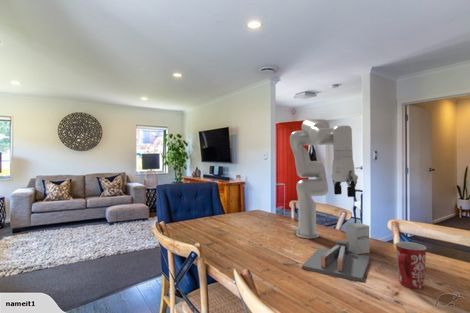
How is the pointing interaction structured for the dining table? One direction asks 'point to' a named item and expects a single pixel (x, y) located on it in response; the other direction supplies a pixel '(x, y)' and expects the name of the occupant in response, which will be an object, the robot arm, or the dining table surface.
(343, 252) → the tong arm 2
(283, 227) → the dining table surface
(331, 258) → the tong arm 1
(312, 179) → the robot arm
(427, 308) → the dining table surface
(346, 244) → the block
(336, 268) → the mat
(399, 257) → the mug
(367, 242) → the supplement box
